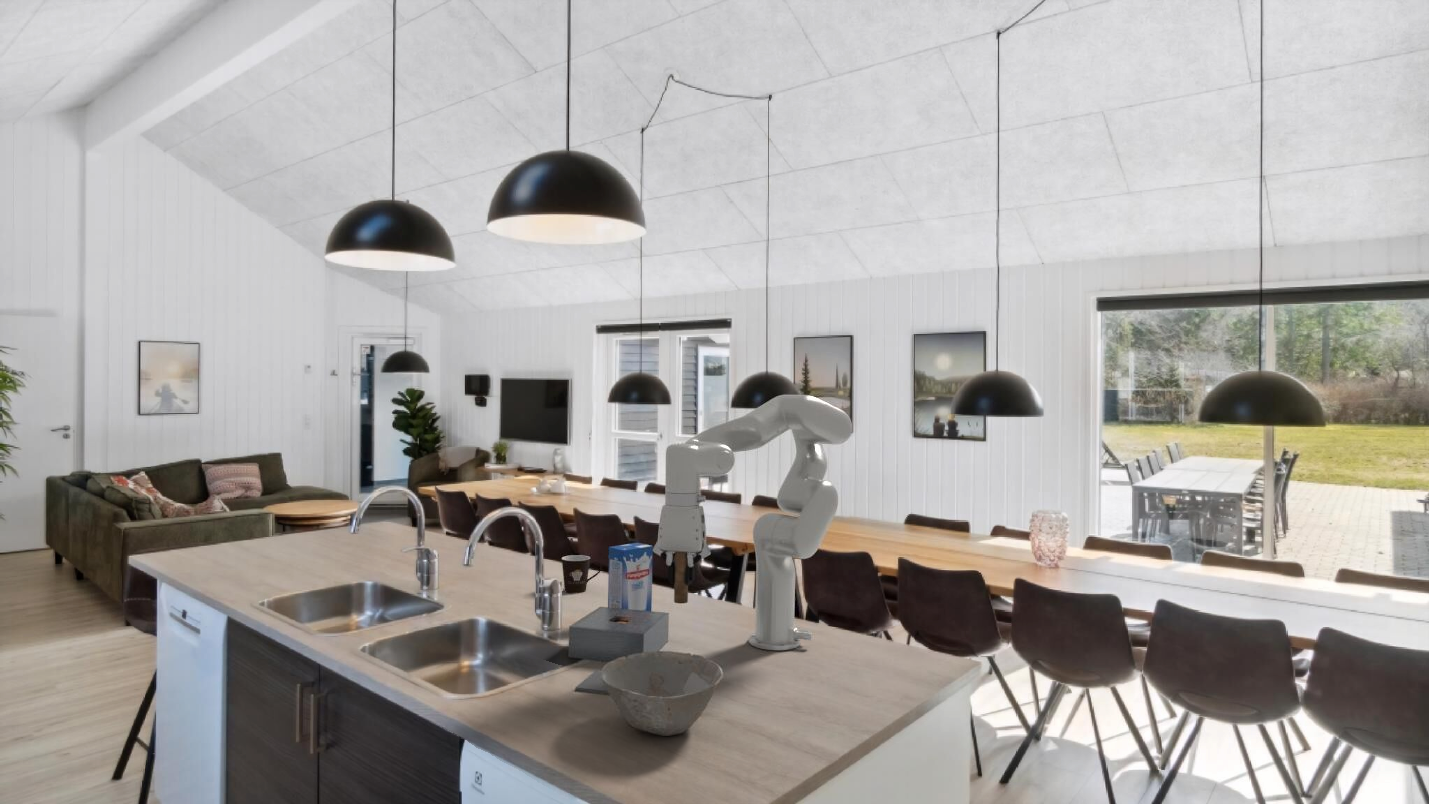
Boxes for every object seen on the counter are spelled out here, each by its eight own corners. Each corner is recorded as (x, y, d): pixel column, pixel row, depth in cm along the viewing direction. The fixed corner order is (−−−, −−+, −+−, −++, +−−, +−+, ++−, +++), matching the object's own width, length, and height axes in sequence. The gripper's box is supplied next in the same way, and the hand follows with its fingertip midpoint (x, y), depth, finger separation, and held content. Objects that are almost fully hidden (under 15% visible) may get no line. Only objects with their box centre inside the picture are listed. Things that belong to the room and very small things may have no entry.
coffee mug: (556, 593, 235) (557, 560, 235) (566, 586, 243) (567, 554, 243) (593, 595, 233) (594, 562, 233) (602, 588, 242) (603, 556, 242)
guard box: (668, 641, 190) (668, 612, 190) (643, 665, 173) (643, 634, 173) (599, 634, 195) (600, 606, 195) (568, 657, 177) (569, 626, 177)
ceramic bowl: (620, 764, 126) (622, 702, 126) (585, 711, 147) (586, 658, 147) (744, 742, 135) (745, 684, 135) (694, 695, 156) (695, 645, 156)
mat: (639, 678, 165) (639, 676, 165) (621, 696, 155) (621, 693, 155) (595, 673, 167) (595, 671, 167) (575, 690, 157) (575, 687, 157)
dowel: (689, 600, 173) (690, 537, 173) (685, 603, 170) (686, 539, 170) (676, 599, 174) (677, 536, 174) (672, 602, 171) (673, 539, 171)
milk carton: (636, 615, 212) (637, 542, 212) (651, 620, 208) (652, 545, 208) (607, 622, 205) (608, 546, 205) (622, 627, 201) (623, 550, 201)
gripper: (722, 499, 173) (721, 582, 173) (652, 496, 177) (651, 576, 178) (713, 504, 166) (712, 590, 166) (641, 500, 170) (640, 584, 170)
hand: (681, 582), depth 172 cm, fingers closed on dowel, 3 cm apart
